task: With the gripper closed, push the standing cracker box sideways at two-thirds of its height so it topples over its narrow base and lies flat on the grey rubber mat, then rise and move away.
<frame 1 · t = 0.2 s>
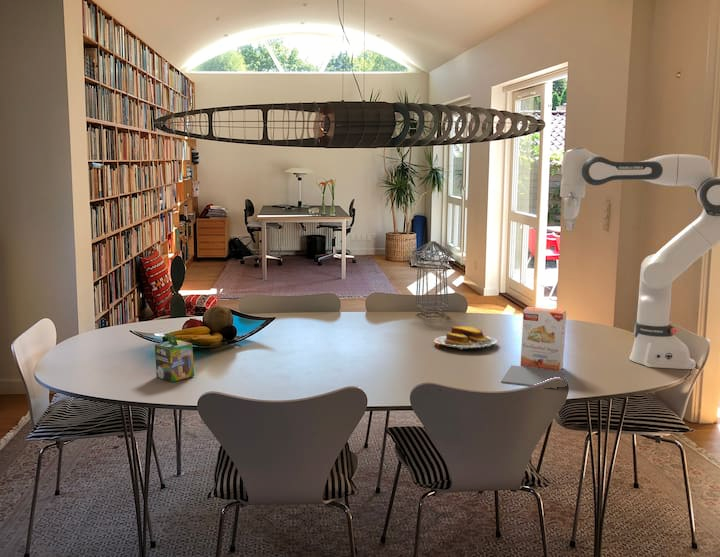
hand: (570, 229, 270), 47 cm above the table, tool pointing down, fingers open, 8 cm apart
cracker box: (541, 367, 258), on the table
geometric lantern: (430, 314, 343), on the table
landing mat: (533, 377, 246), on the table
food on plate: (465, 346, 287), on the table
chalk box: (175, 377, 242), on the table
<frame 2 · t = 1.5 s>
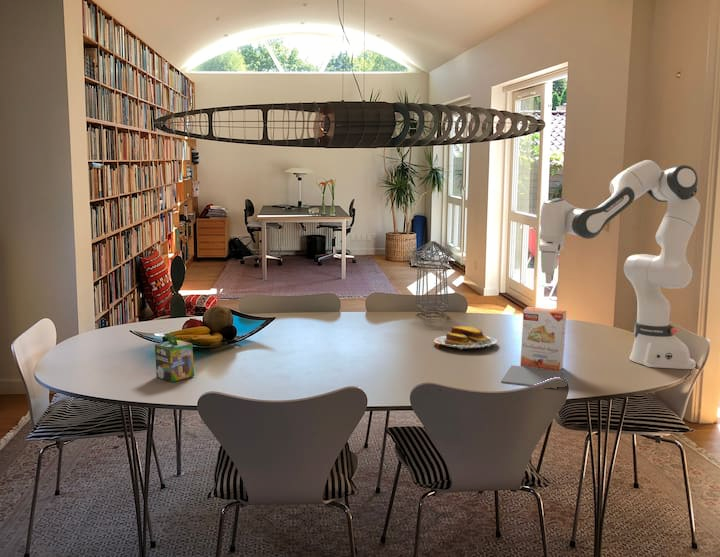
hand: (549, 281, 262), 29 cm above the table, tool pointing down, fingers open, 5 cm apart
nothing on the table moved.
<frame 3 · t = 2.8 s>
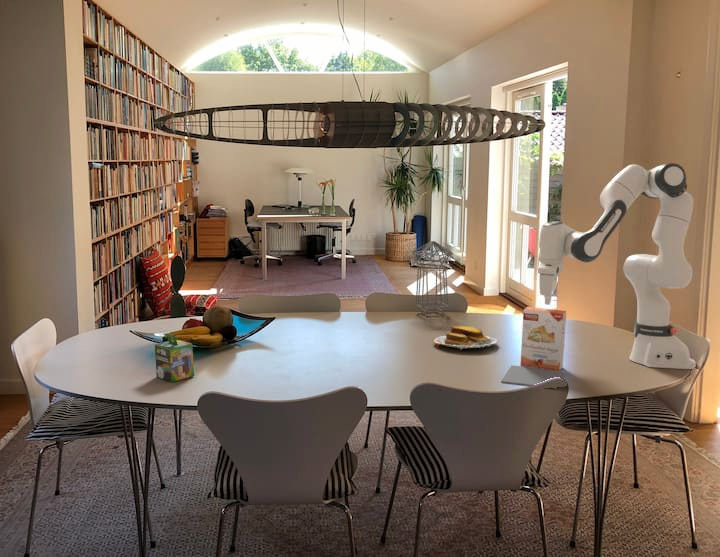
hand: (547, 304, 264), 21 cm above the table, tool pointing down, fingers closed
nothing on the table moved.
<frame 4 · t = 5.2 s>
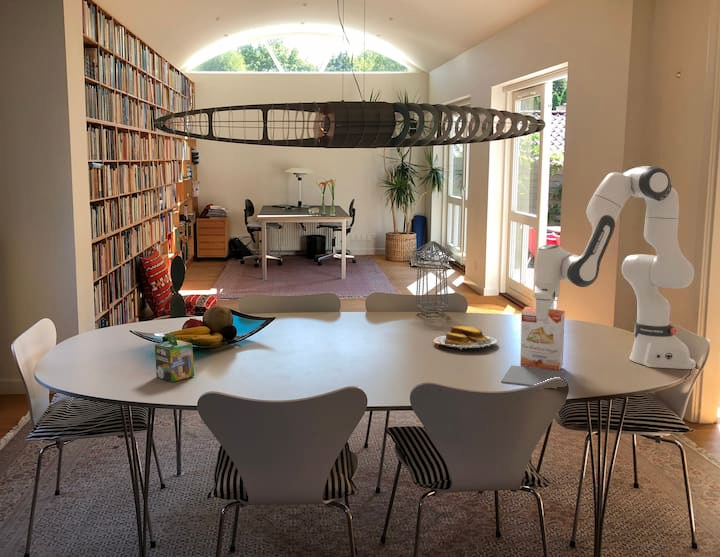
hand: (544, 328, 259), 13 cm above the table, tool pointing down, fingers closed
cracker box: (541, 366, 258), on the table, touching gripper
everything else where it was.
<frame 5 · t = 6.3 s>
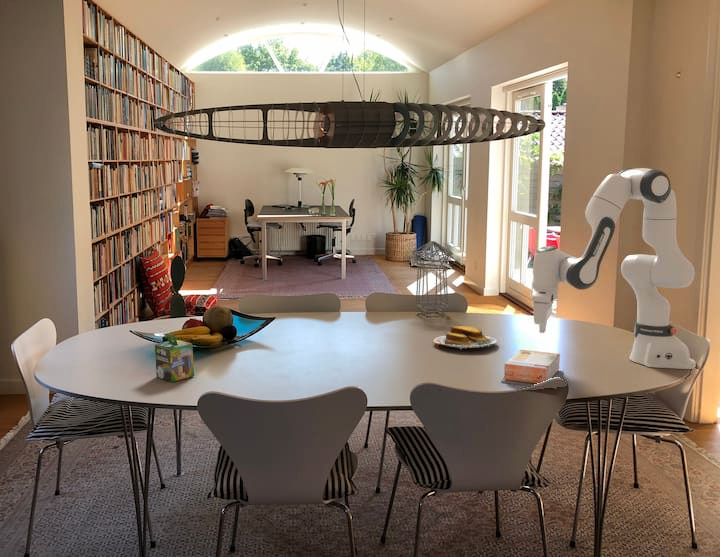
hand: (542, 332, 254), 13 cm above the table, tool pointing down, fingers closed
cracker box: (540, 359, 256), point 3 cm above the table, touching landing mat
everything else where it was.
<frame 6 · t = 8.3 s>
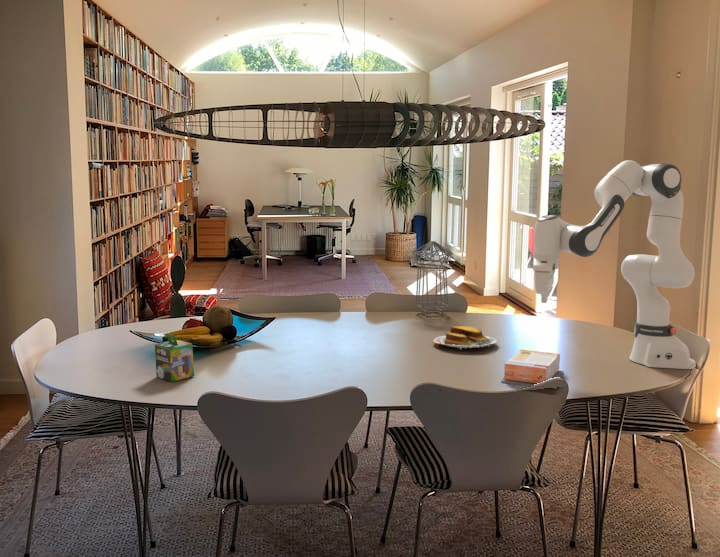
hand: (544, 302, 251), 24 cm above the table, tool pointing down, fingers closed
nothing on the table moved.
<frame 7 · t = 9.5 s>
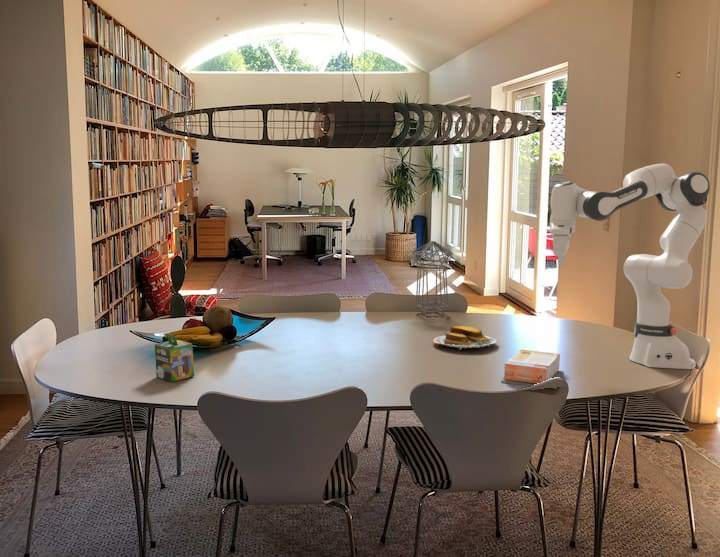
hand: (561, 265, 264), 35 cm above the table, tool pointing down, fingers closed
nothing on the table moved.
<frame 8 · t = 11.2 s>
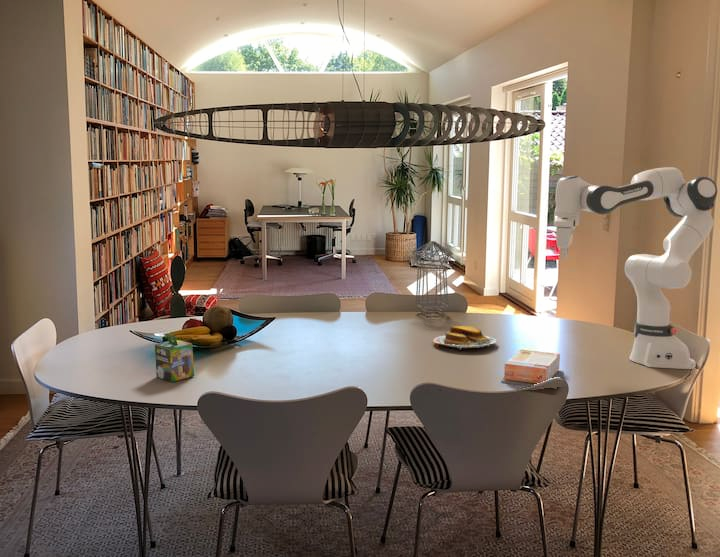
hand: (564, 258, 267), 37 cm above the table, tool pointing down, fingers closed
nothing on the table moved.
at the end: cracker box tilted 89°; cracker box touching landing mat; cracker box inside the target area (2.2 cm from its centre), point 3.3 cm above the table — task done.
